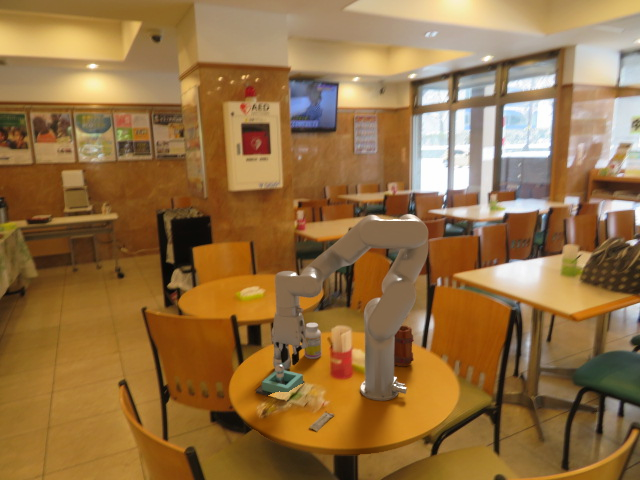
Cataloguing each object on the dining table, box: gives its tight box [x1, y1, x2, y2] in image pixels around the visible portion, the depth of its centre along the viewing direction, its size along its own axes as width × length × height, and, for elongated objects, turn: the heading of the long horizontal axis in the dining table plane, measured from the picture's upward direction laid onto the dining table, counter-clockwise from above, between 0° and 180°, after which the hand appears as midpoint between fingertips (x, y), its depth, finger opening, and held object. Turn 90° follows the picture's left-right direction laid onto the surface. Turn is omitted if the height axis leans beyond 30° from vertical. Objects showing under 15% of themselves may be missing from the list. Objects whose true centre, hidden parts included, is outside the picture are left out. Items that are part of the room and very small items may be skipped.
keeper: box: [255, 364, 305, 397], centre depth 147 cm, size 12×12×9 cm
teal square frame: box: [261, 370, 304, 393], centre depth 147 cm, size 10×10×3 cm
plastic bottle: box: [271, 327, 292, 371], centre depth 160 cm, size 6×7×20 cm
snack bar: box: [308, 410, 335, 432], centre depth 129 cm, size 10×2×3 cm
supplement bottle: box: [303, 322, 322, 360], centre depth 170 cm, size 7×7×13 cm
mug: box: [394, 324, 415, 367], centre depth 163 cm, size 15×8×15 cm, turn 49°
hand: (290, 361), depth 144 cm, fingers open, 3 cm apart
